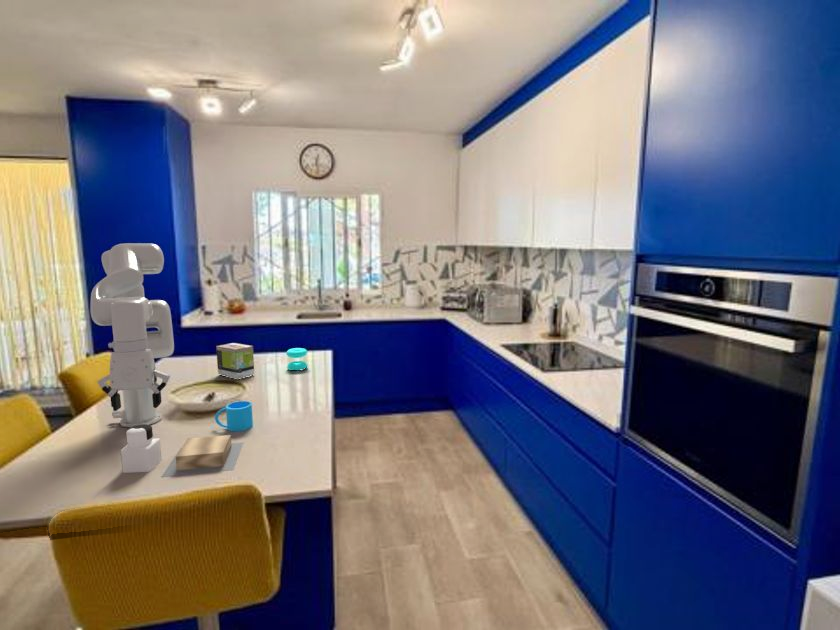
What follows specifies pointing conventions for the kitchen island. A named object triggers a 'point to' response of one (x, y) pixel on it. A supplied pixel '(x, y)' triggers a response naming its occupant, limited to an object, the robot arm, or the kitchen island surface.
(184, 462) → the oak block
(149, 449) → the medicine bottle
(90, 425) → the kitchen island surface
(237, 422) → the mug
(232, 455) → the grey square mat
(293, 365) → the turquoise hourglass
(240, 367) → the tea box
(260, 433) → the kitchen island surface
